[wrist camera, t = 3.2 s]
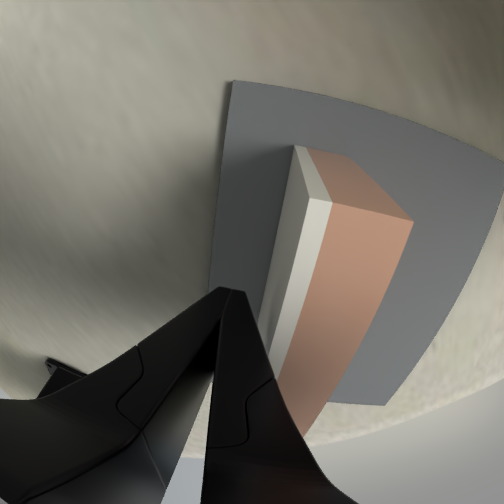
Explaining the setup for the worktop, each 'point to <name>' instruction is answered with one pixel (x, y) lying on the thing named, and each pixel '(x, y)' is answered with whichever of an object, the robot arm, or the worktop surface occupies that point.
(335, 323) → the tile
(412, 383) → the worktop surface
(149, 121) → the worktop surface
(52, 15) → the worktop surface
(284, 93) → the mat
